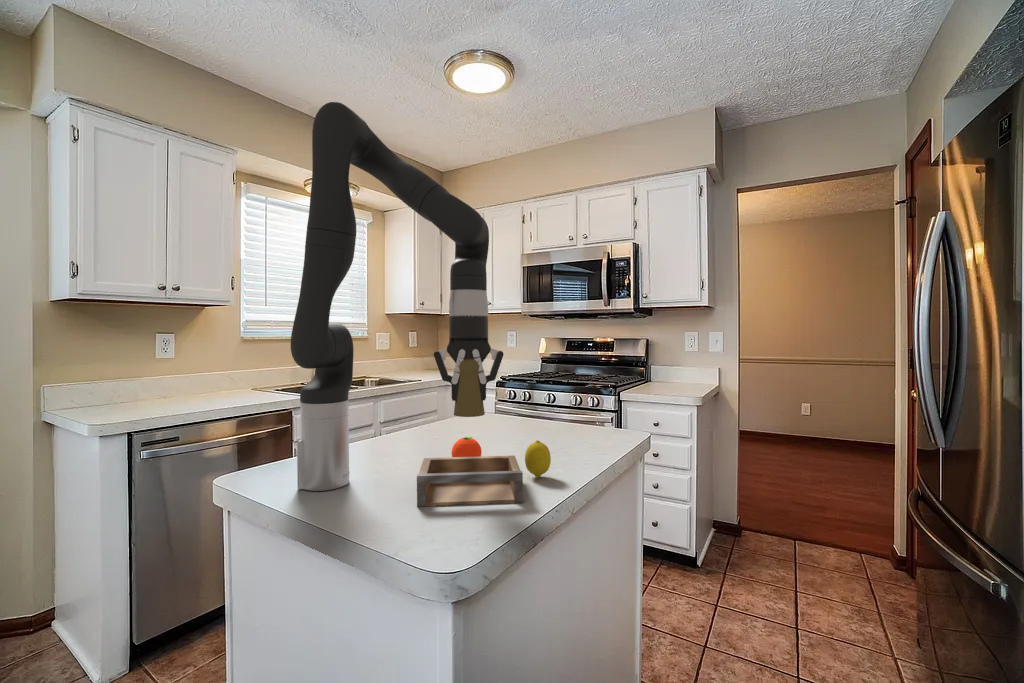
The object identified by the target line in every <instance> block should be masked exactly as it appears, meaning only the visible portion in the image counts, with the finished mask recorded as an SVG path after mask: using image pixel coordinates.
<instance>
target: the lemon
mask: <svg viewBox="0 0 1024 683" xmlns="http://www.w3.org/2000/svg"><path fill="white" fill-rule="evenodd" d="M524 453H525V454H524V463H525V466H526V469H527V471H528V472H529V473H530V474H532V475H533V476H535V478H540V477H541V476H542V475H544V474H546V473H547V472H548V470H549V469H550V466H551V462H552V461H551V460H552V459H551V452H550V449H549V447H548V446H547V445H546V444H545V443H543V442H541V441H540V440H539V439H538V440H535V441H534V442H531V443H530V444H529V445H528V446H527V448H526V450H525V452H524Z"/></svg>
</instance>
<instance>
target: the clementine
mask: <svg viewBox="0 0 1024 683" xmlns="http://www.w3.org/2000/svg"><path fill="white" fill-rule="evenodd" d="M480 456H482V447H481V445H480V443H479V442H478V441H477V440H476V439H475V438H473V436H464V437H461V438H459V439H458V440H456V441H455V443H454V444H453V446H452V448H451V457H480Z"/></svg>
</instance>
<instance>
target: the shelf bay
mask: <svg viewBox="0 0 1024 683" xmlns="http://www.w3.org/2000/svg"><path fill="white" fill-rule="evenodd" d="M517 460H518V459H517V458H516V456H515V455H492V456H491V455H490V456H489V455H486V456H485V455H484V456H482V455H481V456H480V457H452V456H451V457H449V456H448V457H446V456H445V457H424V458H423V460H422V463H421V466H420V468H419V471H418V473H417V474H416V507H417V508H419V507H418V506H426V507H437V506H436V505H445V506H454V505H453V504H471V505H489V504H488V503H497V504H523V503H524V501H523V500H524V498H523V497H524V494H523V493H524V492H523V488H524V486H523V485H524V482H523V478H524V476H523V475H524V473H523V471H522V470H521V468H520V465H519V463H518V461H517ZM433 505H434V506H433Z"/></svg>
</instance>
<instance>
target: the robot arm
mask: <svg viewBox="0 0 1024 683" xmlns="http://www.w3.org/2000/svg"><path fill="white" fill-rule="evenodd" d="M311 136H312V137H311V140H312V141H311V142H312V144H311V146H312V148H311V150H312V151H311V152H312V154H311V158H312V162H311V163H312V167H311V168H312V170H311V171H312V173H311V174H312V175H311V187H310V197H309V210H308V211H309V212H308V218H307V224H306V234H305V241H304V242H305V243H304V244H305V245H304V257H303V258H304V259H303V266H302V267H303V268H302V275H301V281H300V291H299V296H298V297H299V298H298V301H297V307H296V310H295V315H294V320H293V324H292V329H291V336H290V352H291V356H292V359H293V360H294V363H295V364H296V365H297V366H299V367H300V368H302V369H308V370H313V369H315V372H314V375H313V377H312V379H311V380H310V381H309V382H308V383H306V384H305V385H304V386H302V387H301V389H300V392H299V405H300V407H299V410H300V421H299V422H300V439H299V440H298V441H296V455H297V456H296V459H297V460H296V461H297V462H296V464H297V466H296V468H297V490H306V491H311V492H321V491H331V490H335V489H339V488H342V487H344V486H347V485H348V484H350V433H349V432H350V426H349V424H350V421H349V420H350V419H349V416H350V415H349V393H350V390H351V387H352V385H353V377H354V372H353V371H354V341H353V337H352V334H351V332H350V330H349V329H348V328H347V327H346V326H345V325H343V324H341V323H338V322H330V316H331V315H330V314H331V307H332V303H333V300H334V299H333V298H334V296H335V294H336V292H337V291H338V288H339V287H340V285H341V284H342V282H343V281H344V279H345V277H346V276H347V274H348V272H349V270H350V268H351V267H352V264H353V261H354V256H355V252H356V250H355V249H356V241H357V218H356V215H355V214H356V213H355V210H354V205H353V201H352V200H353V199H352V196H351V191H350V181H349V180H350V178H349V177H350V167H351V165H353V166H354V167H356V168H358V169H360V170H363V171H364V172H366V173H368V174H369V175H371V176H372V177H374V178H375V179H376V180H378V181H379V182H381V183H382V184H383V185H384V186H385V187H387V189H388V190H390V192H391V193H392V194H394V195H395V196H396V197H397V198H398V199H399V200H400V201H401V202H403V203H404V204H405V205H406V206H408V207H409V208H410V209H411V210H413V211H414V212H415V213H416V214H418V215H419V216H421V217H422V218H423V219H425V220H426V221H428V222H430V223H431V224H433V225H434V226H435V227H436V228H437V229H438V230H440V232H442V233H444V234H445V235H446V236H447V237H448V238H449V239H451V241H453V242H454V245H455V246H454V261H453V262H452V263H451V265H450V270H449V271H450V272H449V275H450V276H449V277H450V278H449V280H450V281H449V283H450V284H449V285H450V286H449V288H450V289H449V290H450V292H449V293H450V294H449V301H448V319H449V320H448V324H449V325H448V328H449V330H448V335H449V336H448V338H449V339H448V340H449V341H448V344H447V346H446V348H443V349H441V350H436V351H434V352H433V358H434V360H435V362H436V366H437V368H438V371H439V374H440V377H441V380H442V381H444V382H447V383H449V384H450V385H451V400H452V401H453V402H454V405H455V404H456V403H457V396H458V389H459V385H458V379H459V375H460V374H459V373H460V370H459V367H458V366H459V365H460V363H461V361H463V360H464V359H467V358H472V359H474V360H476V361H479V362H478V364H479V365H480V367H479V370H478V372H479V374H478V375H479V379H480V385H479V387H480V393H481V400H482V403H483V404H484V401H486V399H487V384H488V383H490V382H492V381H495V380H496V378H497V375H498V373H499V369H500V367H501V365H502V364H501V363H502V362H503V361H502V360H503V358H504V352H503V351H502V350H497V349H495V348H492V347H491V345H490V343H489V300H488V291H487V284H488V283H487V281H488V280H487V275H488V274H487V262H488V255H489V247H490V246H489V245H490V232H489V227H488V223H487V222H486V220H485V219H484V217H482V216H481V215H482V214H480V213H479V212H478V211H477V210H476V209H475V208H473V207H472V206H470V205H469V204H468V203H466V202H464V201H463V200H461V199H460V198H459V197H457V196H455V195H453V194H451V193H450V192H449V191H448V190H447V189H446V188H445V187H443V186H442V185H441V184H440V183H438V182H437V181H436V180H434V179H433V178H431V177H430V176H429V175H427V173H425V172H423V171H422V170H421V169H419V168H418V167H417V166H414V165H413V164H411V163H410V162H407V160H404V159H403V158H401V157H399V156H398V155H397V154H396V153H394V152H393V151H392V150H391V149H390V148H389V147H388V146H387V145H386V144H385V143H384V142H382V140H381V139H380V137H378V135H377V134H375V132H374V131H373V130H372V129H371V128H370V127H369V125H368V124H367V122H366V121H365V120H364V119H363V118H362V117H360V116H359V115H358V114H357V113H356V112H355V111H354V110H353V109H352V108H350V107H349V106H347V105H345V104H344V103H343V102H342V103H341V102H339V101H329V102H327V103H325V104H323V105H322V106H321V107H320V108H319V109H318V110H317V112H316V114H315V117H314V118H313V124H312V134H311ZM447 354H448V355H449V356H450V358H451V359H452V360H453V362H454V363H455V367H454V370H453V373H452V375H451V374H449V372H448V370H447V366H446V364H445V362H444V361H446V360H447ZM489 354H491V360H492V361H493V362H492V366H491V368H490V372H489V373H488V374H487V375H486V374H485V370H484V367H483V362H484V361H485V359H486V358H487V357H488V355H489ZM459 361H460V362H459Z"/></svg>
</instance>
